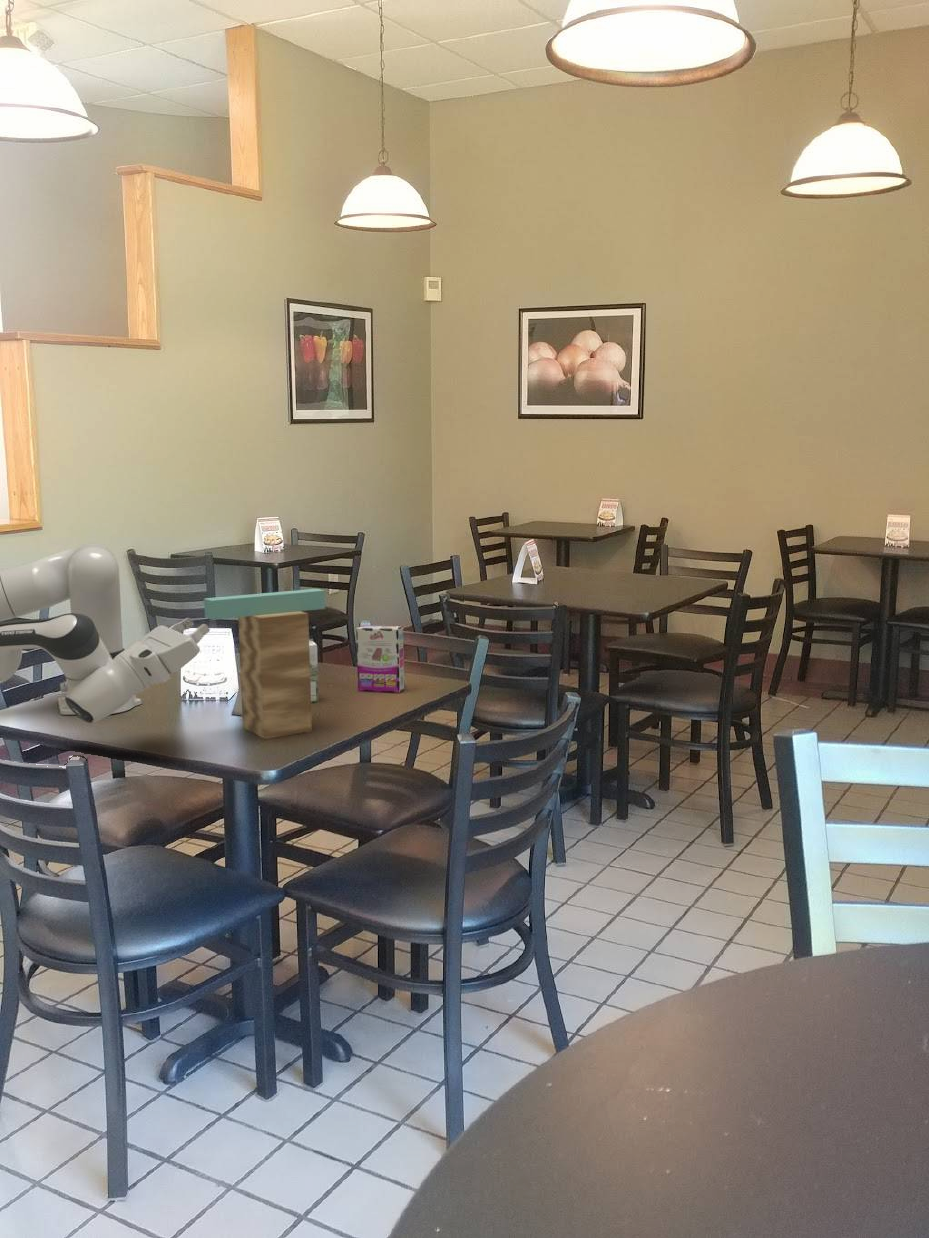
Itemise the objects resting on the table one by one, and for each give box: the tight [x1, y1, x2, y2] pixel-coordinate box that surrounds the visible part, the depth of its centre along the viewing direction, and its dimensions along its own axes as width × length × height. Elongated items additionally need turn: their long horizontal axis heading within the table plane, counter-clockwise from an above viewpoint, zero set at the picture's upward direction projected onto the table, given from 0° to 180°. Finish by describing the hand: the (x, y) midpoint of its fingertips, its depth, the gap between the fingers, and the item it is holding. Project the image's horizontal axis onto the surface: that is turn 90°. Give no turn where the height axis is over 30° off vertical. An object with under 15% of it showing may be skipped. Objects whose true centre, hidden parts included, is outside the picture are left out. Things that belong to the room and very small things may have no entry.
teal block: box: [203, 588, 326, 621], centre depth 234 cm, size 4×26×4 cm, turn 124°
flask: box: [231, 669, 242, 716], centre depth 254 cm, size 7×7×10 cm
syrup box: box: [309, 640, 319, 703], centre depth 265 cm, size 6×6×14 cm
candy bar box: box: [355, 625, 406, 694], centre depth 275 cm, size 11×5×16 cm, turn 76°
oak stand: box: [237, 611, 313, 740], centre depth 238 cm, size 12×11×26 cm
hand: (199, 623), depth 226 cm, fingers open, 8 cm apart
